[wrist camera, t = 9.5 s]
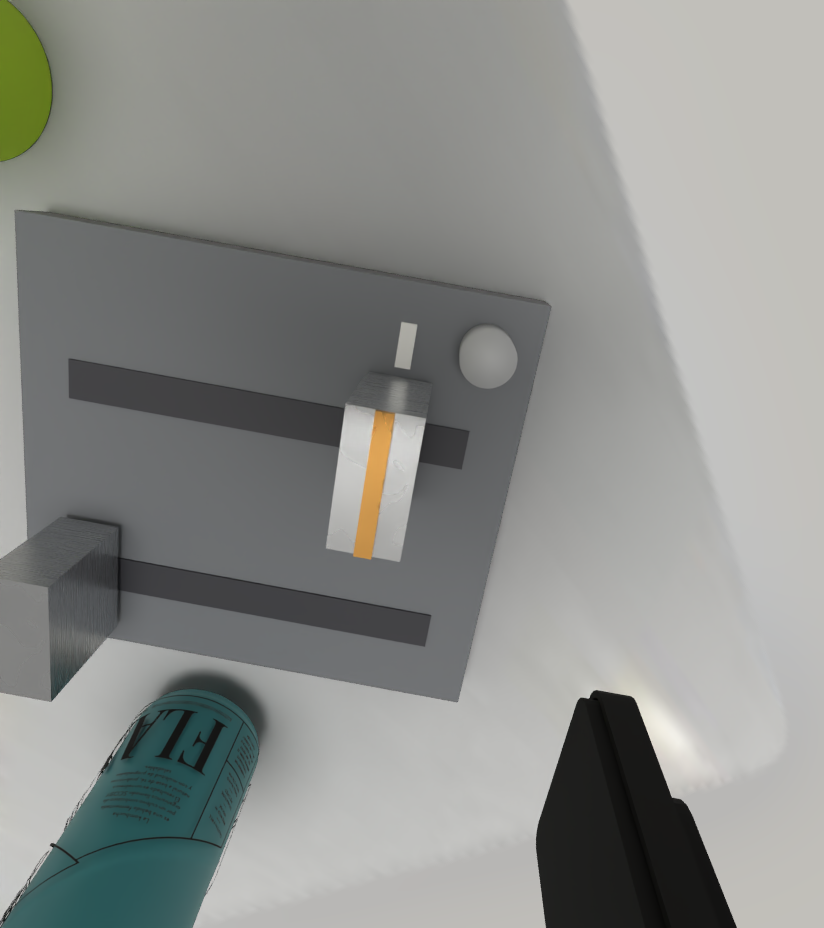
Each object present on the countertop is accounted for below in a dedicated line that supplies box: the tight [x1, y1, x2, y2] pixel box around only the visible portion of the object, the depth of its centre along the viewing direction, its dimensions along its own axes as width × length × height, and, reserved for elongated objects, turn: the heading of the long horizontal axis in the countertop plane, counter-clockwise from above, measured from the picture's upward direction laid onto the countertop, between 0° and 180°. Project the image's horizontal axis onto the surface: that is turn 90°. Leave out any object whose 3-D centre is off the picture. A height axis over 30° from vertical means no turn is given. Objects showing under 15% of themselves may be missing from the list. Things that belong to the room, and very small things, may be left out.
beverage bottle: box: [0, 689, 259, 928], centre depth 24 cm, size 6×7×20 cm
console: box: [15, 210, 551, 702], centre depth 27 cm, size 18×20×4 cm
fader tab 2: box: [326, 372, 433, 562], centre depth 23 cm, size 5×2×5 cm, turn 170°
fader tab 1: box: [0, 517, 118, 702], centre depth 26 cm, size 5×2×5 cm, turn 171°
